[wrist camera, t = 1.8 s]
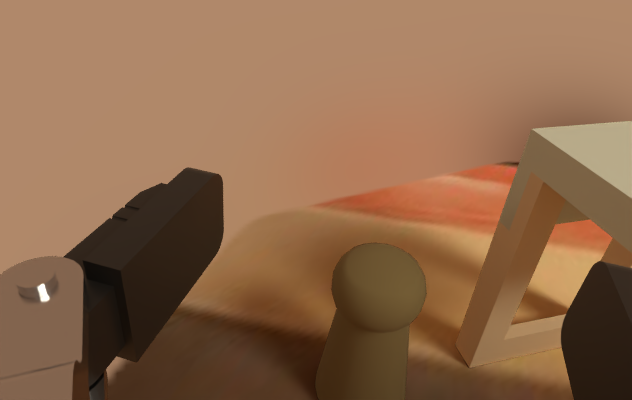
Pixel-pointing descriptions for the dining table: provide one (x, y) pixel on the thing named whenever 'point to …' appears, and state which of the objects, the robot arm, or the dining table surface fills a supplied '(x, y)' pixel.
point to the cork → (370, 324)
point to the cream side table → (548, 231)
